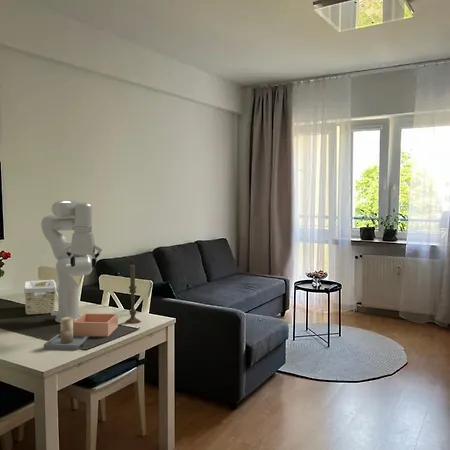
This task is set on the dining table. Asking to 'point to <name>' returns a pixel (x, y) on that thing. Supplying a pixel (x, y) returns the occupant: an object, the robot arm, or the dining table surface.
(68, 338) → the birch peg
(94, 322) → the pink open storage bin
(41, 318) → the dining table surface
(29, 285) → the storage basket
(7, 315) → the dining table surface
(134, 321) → the candlestick holder
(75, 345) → the grey tray
